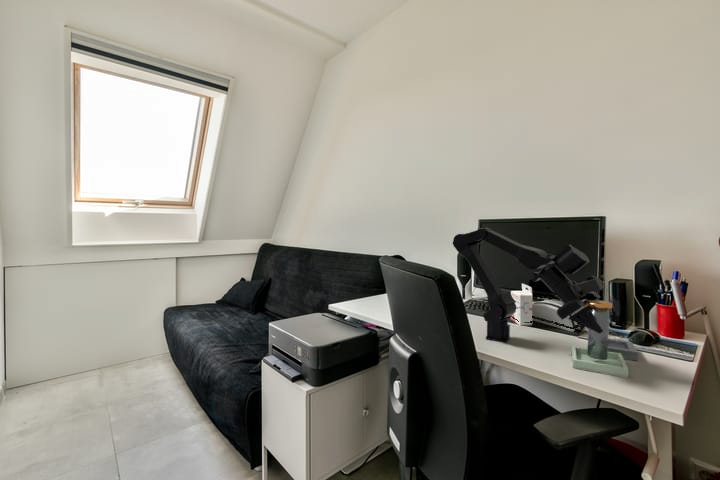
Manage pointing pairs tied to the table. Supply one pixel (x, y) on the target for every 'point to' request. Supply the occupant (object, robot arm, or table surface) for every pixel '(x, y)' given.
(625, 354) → the frame
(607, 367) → the tray
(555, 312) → the grey arched block
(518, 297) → the ink cartridge box
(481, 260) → the robot arm
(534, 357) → the table surface
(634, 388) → the table surface
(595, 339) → the grey and gold cylinder
